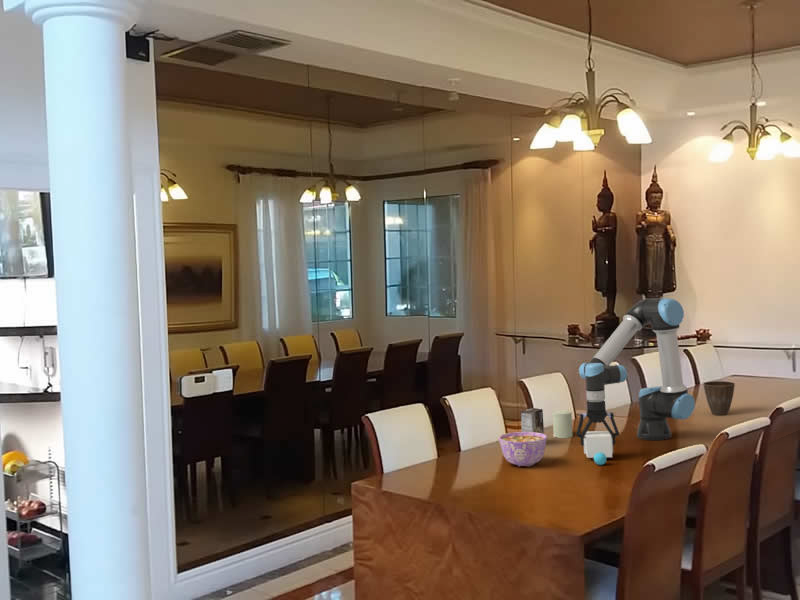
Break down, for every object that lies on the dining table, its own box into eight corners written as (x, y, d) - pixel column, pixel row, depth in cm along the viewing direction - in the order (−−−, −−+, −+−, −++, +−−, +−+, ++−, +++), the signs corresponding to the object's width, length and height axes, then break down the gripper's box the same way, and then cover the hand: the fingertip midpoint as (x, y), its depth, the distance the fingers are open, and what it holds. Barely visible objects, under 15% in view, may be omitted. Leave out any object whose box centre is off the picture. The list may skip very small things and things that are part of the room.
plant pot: (738, 412, 417) (737, 381, 416) (732, 417, 404) (731, 386, 403) (708, 411, 425) (706, 380, 424) (701, 416, 412) (700, 385, 411)
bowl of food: (518, 473, 322) (517, 444, 322) (490, 463, 340) (489, 436, 340) (558, 464, 332) (556, 437, 331) (529, 456, 349) (527, 429, 349)
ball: (606, 457, 324) (606, 467, 326) (606, 449, 328) (606, 460, 330) (593, 457, 325) (594, 467, 327) (593, 449, 329) (593, 460, 331)
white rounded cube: (609, 451, 343) (608, 431, 342) (612, 457, 333) (611, 436, 332) (585, 452, 344) (584, 431, 344) (587, 457, 334) (585, 436, 334)
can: (573, 438, 380) (571, 412, 379) (553, 438, 382) (551, 413, 381) (572, 433, 389) (571, 409, 388) (553, 434, 391) (552, 409, 390)
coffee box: (533, 441, 376) (531, 407, 375) (545, 443, 372) (543, 408, 371) (521, 445, 370) (519, 410, 369) (533, 447, 365) (531, 412, 364)
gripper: (568, 402, 336) (571, 455, 337) (624, 401, 332) (627, 454, 333) (567, 399, 343) (570, 451, 344) (622, 397, 340) (625, 450, 340)
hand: (598, 452), depth 339 cm, fingers closed on white rounded cube, 10 cm apart
